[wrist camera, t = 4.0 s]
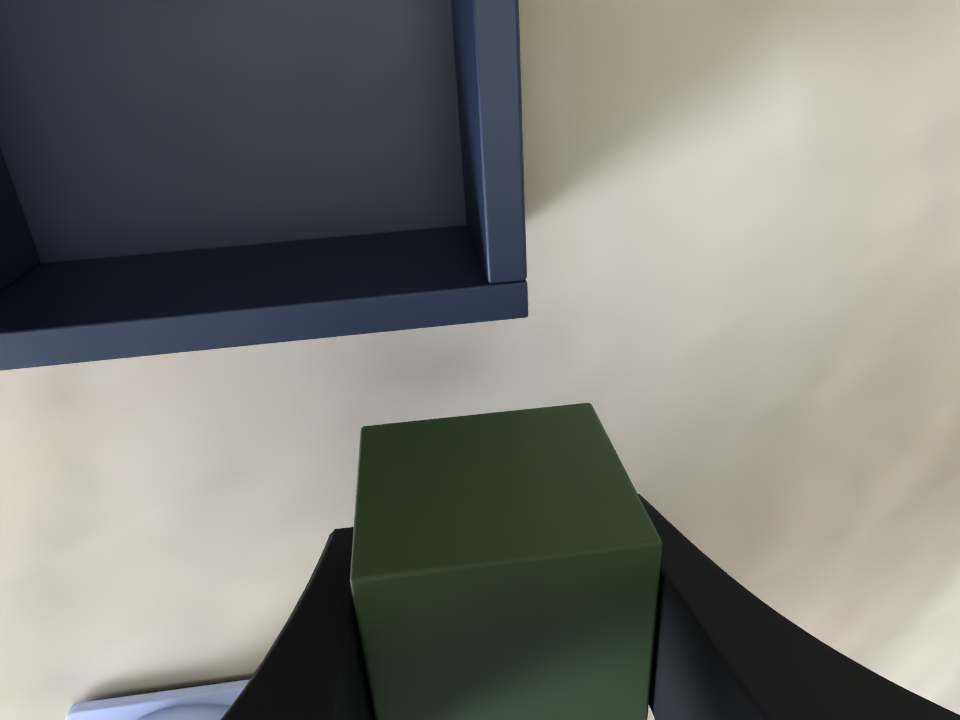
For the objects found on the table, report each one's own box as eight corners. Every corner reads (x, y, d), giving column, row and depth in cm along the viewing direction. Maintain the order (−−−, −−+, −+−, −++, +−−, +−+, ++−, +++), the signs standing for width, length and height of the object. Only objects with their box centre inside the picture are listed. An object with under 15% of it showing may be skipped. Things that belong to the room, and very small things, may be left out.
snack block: (587, 573, 15) (646, 743, 12) (387, 598, 15) (385, 781, 11) (591, 401, 13) (664, 542, 10) (360, 425, 13) (348, 580, 9)
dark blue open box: (465, -322, 14) (504, -500, 9) (494, 243, 19) (529, 318, 14) (-185, -304, 13) (-518, -489, 8) (34, 285, 18) (-92, 380, 13)
